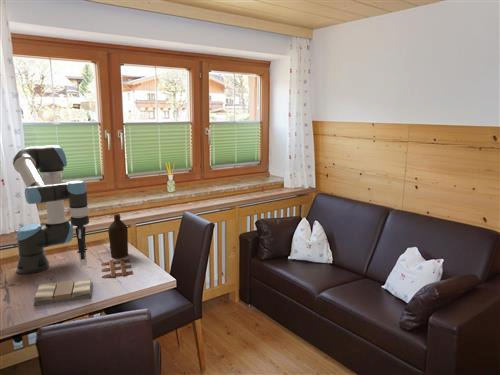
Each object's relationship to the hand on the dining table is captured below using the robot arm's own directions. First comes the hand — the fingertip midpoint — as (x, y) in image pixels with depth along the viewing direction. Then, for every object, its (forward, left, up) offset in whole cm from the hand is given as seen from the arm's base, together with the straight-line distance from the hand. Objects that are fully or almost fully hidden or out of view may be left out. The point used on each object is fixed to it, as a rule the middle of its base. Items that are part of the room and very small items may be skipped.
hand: (83, 264), depth 177 cm
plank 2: (0, -1, -12) cm, 12 cm away
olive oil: (-44, +16, -14) cm, 48 cm away
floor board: (0, -9, -13) cm, 16 cm away
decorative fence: (-24, +14, -14) cm, 31 cm away
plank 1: (0, -16, -12) cm, 20 cm away
